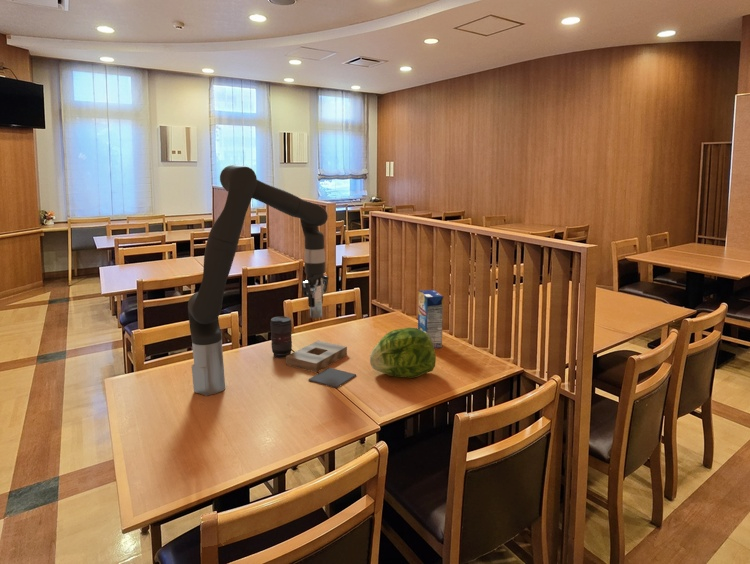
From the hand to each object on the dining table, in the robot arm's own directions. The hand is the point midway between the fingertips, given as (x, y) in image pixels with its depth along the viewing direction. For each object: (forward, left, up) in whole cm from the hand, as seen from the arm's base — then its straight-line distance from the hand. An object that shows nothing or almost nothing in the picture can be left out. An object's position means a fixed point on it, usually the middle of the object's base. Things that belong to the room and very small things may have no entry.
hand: (315, 305), depth 186 cm
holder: (+1, 0, -22) cm, 22 cm away
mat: (-10, -15, -22) cm, 28 cm away
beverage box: (+39, -30, -22) cm, 53 cm away
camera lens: (-2, +15, -22) cm, 27 cm away
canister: (0, 0, -4) cm, 4 cm away
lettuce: (+5, -35, -22) cm, 41 cm away
